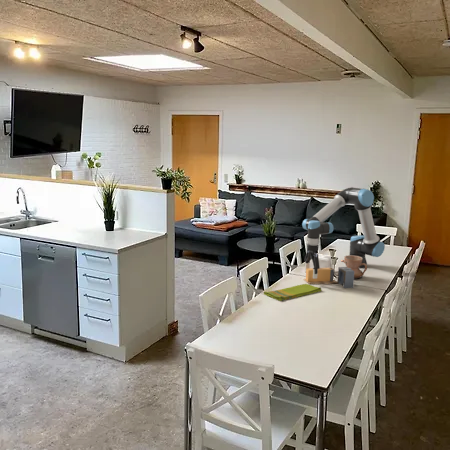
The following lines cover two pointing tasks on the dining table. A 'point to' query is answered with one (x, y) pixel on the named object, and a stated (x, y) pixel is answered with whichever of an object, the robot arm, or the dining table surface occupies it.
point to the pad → (322, 282)
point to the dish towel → (293, 292)
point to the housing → (346, 277)
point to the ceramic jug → (355, 265)
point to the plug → (320, 274)
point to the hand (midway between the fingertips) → (311, 275)
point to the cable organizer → (322, 261)
